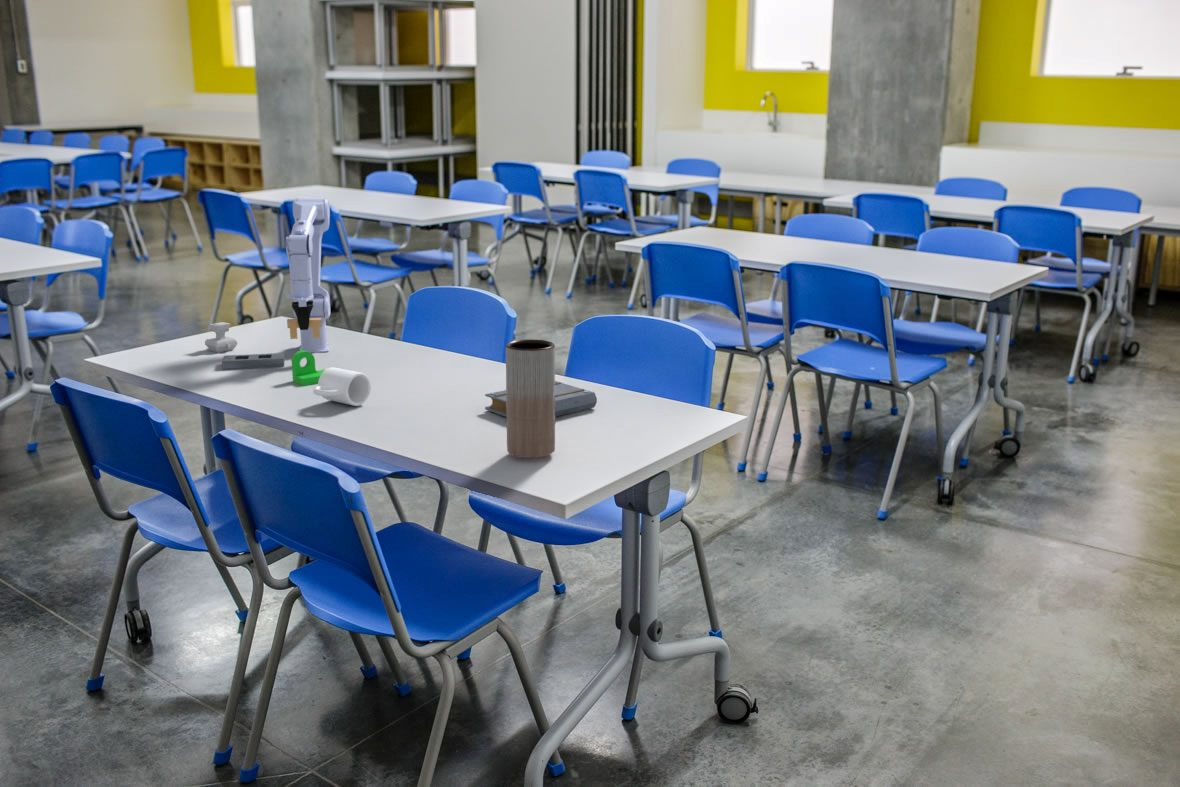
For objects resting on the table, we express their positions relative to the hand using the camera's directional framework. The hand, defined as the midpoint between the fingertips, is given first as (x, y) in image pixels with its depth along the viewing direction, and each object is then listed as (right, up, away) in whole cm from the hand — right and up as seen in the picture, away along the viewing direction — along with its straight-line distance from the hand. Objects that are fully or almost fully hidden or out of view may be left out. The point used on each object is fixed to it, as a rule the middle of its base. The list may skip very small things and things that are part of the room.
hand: (304, 328), depth 304 cm
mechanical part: (+8, -15, -15) cm, 22 cm away
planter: (+66, -30, -72) cm, 103 cm away
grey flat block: (-13, -10, -1) cm, 17 cm away
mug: (+18, -21, -38) cm, 47 cm away
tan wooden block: (0, -2, +1) cm, 3 cm away
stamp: (-28, -6, +16) cm, 33 cm away
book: (+67, -22, -40) cm, 81 cm away
